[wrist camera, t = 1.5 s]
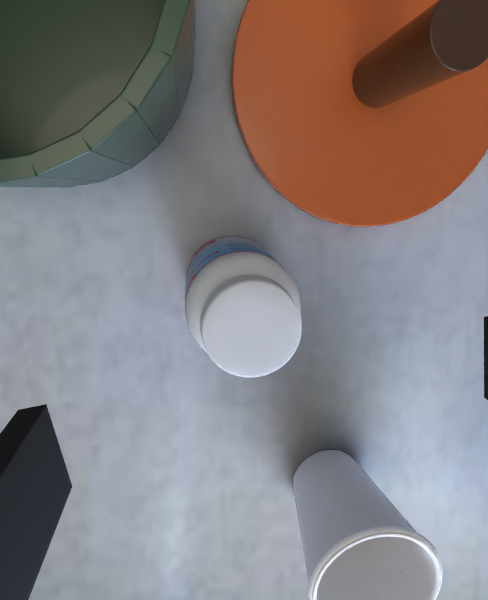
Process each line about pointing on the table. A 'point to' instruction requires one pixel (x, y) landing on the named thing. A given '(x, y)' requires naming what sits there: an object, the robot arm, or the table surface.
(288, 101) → the tin lid
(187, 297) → the pill bottle
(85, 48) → the tin
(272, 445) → the table surface
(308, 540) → the dixie cup
